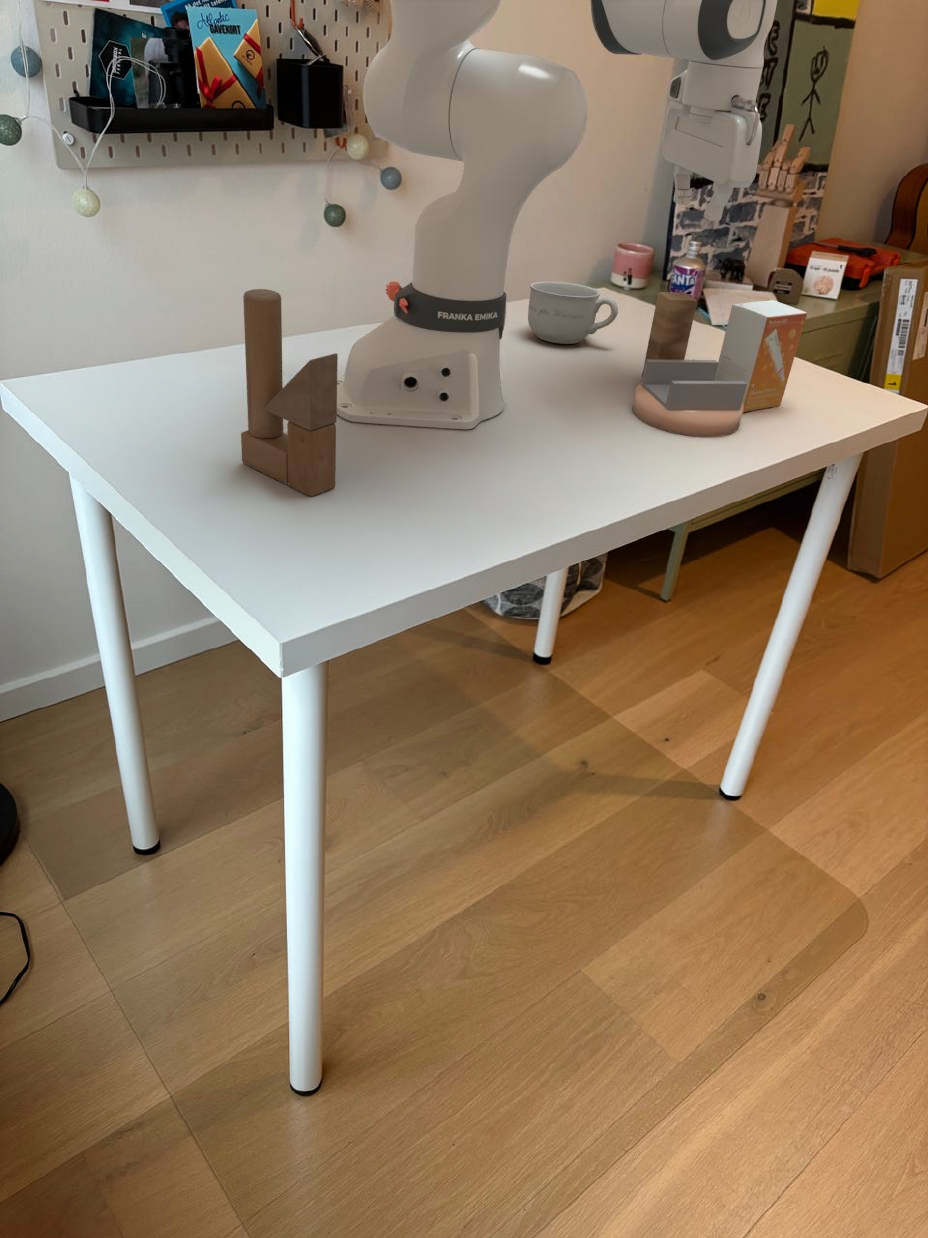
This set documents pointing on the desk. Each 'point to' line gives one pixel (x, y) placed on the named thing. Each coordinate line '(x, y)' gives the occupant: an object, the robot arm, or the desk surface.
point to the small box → (760, 350)
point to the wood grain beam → (671, 326)
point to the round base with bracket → (688, 398)
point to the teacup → (566, 311)
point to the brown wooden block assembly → (287, 404)
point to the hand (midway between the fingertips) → (695, 211)
